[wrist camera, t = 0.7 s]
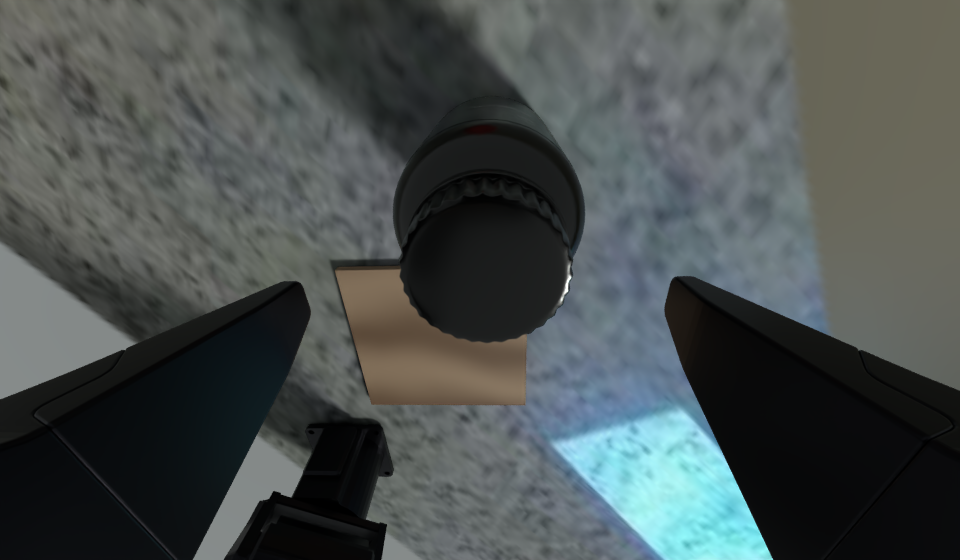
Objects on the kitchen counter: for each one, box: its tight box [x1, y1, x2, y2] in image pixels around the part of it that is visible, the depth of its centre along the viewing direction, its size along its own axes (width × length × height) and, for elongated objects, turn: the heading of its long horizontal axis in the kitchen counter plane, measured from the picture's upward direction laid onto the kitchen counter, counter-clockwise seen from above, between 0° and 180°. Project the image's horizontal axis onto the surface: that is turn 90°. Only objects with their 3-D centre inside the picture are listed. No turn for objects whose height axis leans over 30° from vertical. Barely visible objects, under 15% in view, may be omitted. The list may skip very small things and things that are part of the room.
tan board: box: [335, 266, 527, 405], centre depth 27 cm, size 12×12×1 cm
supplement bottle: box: [393, 96, 585, 343], centre depth 15 cm, size 7×7×12 cm
